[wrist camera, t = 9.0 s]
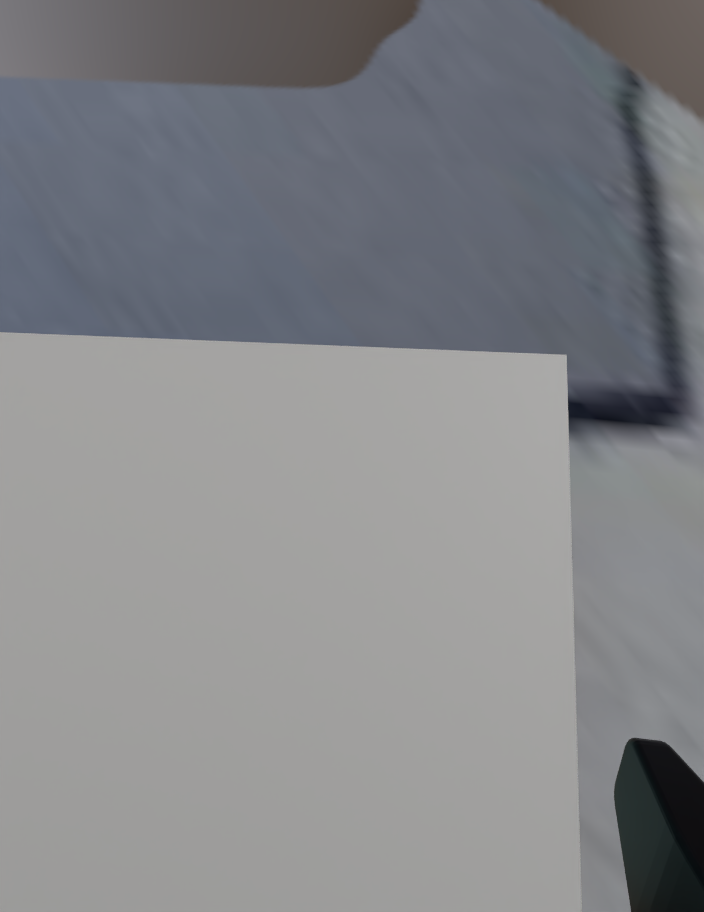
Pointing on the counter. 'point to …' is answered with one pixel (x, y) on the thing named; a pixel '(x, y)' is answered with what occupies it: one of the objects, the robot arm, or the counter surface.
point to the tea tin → (285, 629)
